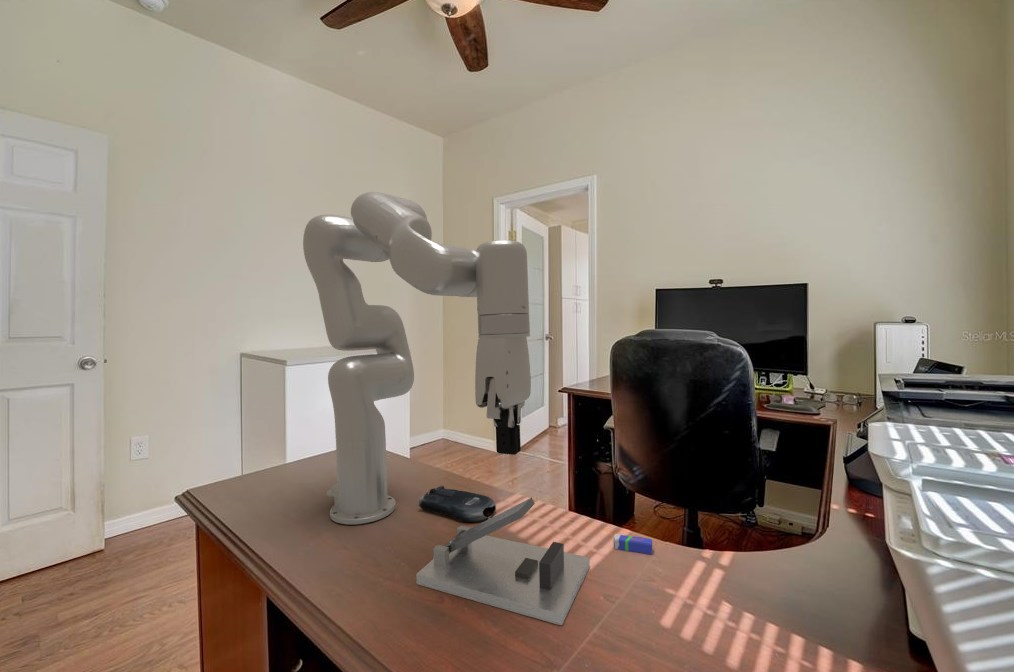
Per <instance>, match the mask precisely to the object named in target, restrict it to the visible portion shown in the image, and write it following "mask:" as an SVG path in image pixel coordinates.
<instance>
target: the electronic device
mask: <svg viewBox="0 0 1014 672" xmlns="http://www.w3.org/2000/svg"><path fill="white" fill-rule="evenodd" d="M418 502H419V503H418V507H420V509H421V510H423V511H429V512H431V513H436V514H440V515H442V516H443V515H444V516H450V517H452V518H453V519H455V520H458V521H461V522H464V523H465V522H467V523H477V522H483V521H486V520H488V519H490V518H492V517H494V514H495V513H496V508H497V507H496V506H497V505H496V503H495V501H494V500H493V499H492V498H491V497H490V496H488V495H487V496H486V495H483V494H479V493H476V492H474V493H473V492H472V491H471V492H470V491H466V490H458V489H451V488H445V485H440V486H437V487H436V488H435V487H433V488H431V489H429V491H427V492H426V493H425V494H424V495H422V496H420V497H419V501H418ZM485 509H489V510H491V515H490V516H488V517H487V516H485V515H484V510H485Z"/></svg>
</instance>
